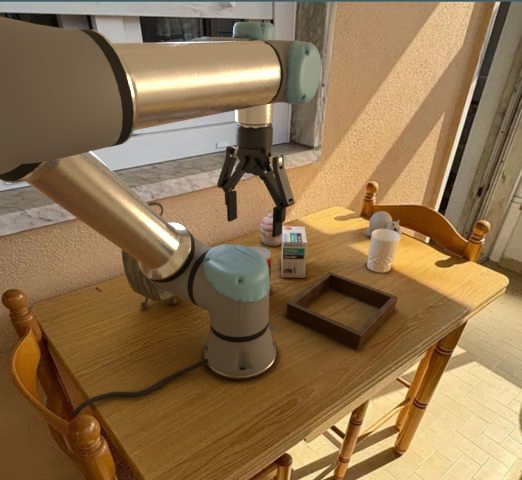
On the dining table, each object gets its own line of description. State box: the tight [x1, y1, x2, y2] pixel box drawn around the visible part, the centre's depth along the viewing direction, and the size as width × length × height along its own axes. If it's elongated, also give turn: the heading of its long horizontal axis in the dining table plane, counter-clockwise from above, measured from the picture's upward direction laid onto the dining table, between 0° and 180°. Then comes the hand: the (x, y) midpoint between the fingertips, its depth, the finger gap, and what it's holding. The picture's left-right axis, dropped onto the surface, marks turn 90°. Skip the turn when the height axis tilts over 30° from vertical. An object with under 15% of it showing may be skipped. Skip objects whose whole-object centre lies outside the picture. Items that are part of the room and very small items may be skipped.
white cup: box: [366, 229, 402, 274], centre depth 108 cm, size 8×8×10 cm
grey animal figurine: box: [365, 210, 403, 237], centre depth 123 cm, size 7×12×8 cm, turn 36°
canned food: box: [248, 245, 272, 279], centre depth 98 cm, size 8×8×11 cm
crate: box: [285, 271, 399, 351], centre depth 93 cm, size 19×19×4 cm
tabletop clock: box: [121, 201, 177, 309], centre depth 89 cm, size 14×9×25 cm, turn 145°
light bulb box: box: [280, 225, 309, 279], centre depth 107 cm, size 11×7×11 cm, turn 179°
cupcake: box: [257, 211, 285, 247], centre depth 120 cm, size 9×9×10 cm
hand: (253, 227), depth 90 cm, fingers open, 13 cm apart
